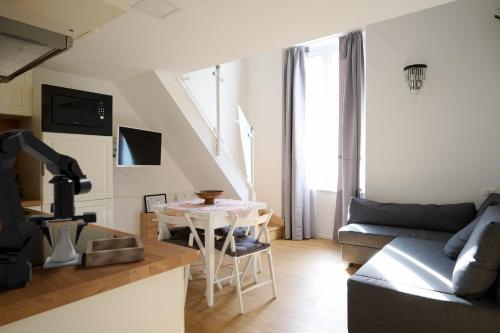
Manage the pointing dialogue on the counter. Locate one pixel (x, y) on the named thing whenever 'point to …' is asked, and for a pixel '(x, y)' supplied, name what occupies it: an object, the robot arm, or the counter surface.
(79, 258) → the pale grey flat slab
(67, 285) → the counter surface
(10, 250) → the robot arm
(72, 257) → the flask
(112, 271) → the counter surface
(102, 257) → the walnut box
